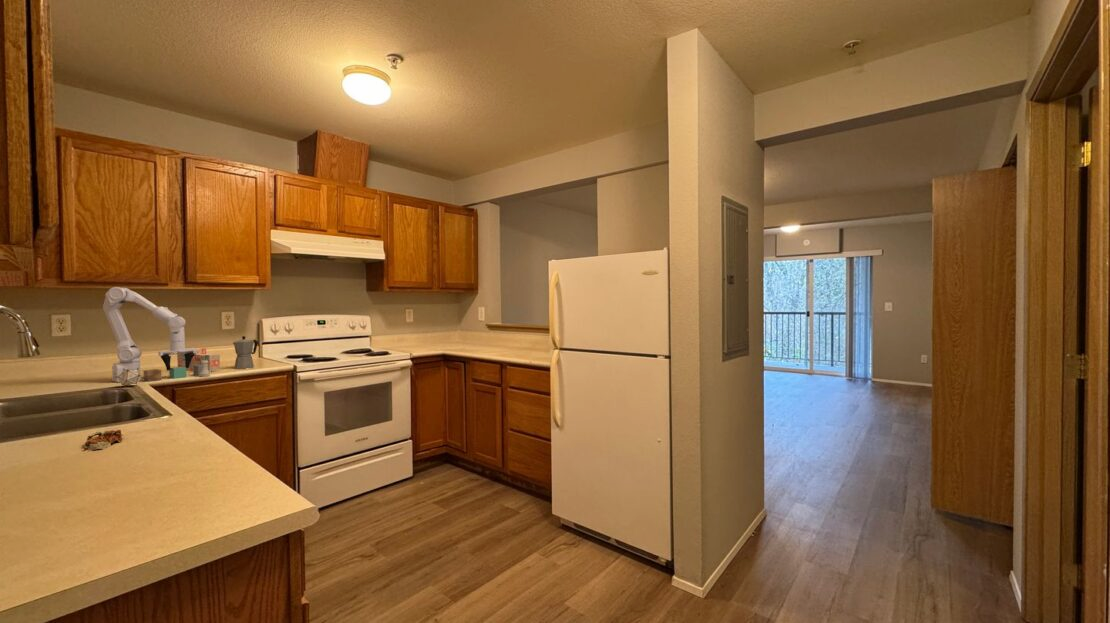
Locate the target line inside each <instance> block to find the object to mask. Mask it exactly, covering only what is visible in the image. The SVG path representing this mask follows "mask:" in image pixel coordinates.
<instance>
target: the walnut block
mask: <svg viewBox="0 0 1110 623" xmlns="http://www.w3.org/2000/svg"><path fill="white" fill-rule="evenodd" d="M142 372H143V373H142V374H143V377H144V379H143V382H148V383H150V382H157V381H162V369H158V368H156V369H155V368H154V369H145V370H142Z"/></svg>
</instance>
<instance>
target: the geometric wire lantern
mask: <svg viewBox="0 0 1110 623" xmlns="http://www.w3.org/2000/svg"><path fill="white" fill-rule="evenodd" d="M138 369H139V368H137V369H131V370H128V369H127V370H125V369H123V370H124V371H123V372H122V373H121V374H120V375H119V376H118V379H119V381H120V382H119V383H120V384H121V386H122V385H130V386H132V385H131V384H136V385H137V384H138V383H139V382H140V381H142V380H141V379H143V378H144V376H143V377H142V375H141V372H140V373H139V371H138ZM116 377H117V376H116ZM143 380H144V379H143Z"/></svg>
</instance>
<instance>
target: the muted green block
mask: <svg viewBox="0 0 1110 623" xmlns="http://www.w3.org/2000/svg"><path fill="white" fill-rule="evenodd" d="M168 372H169V373H168V374H169V379H173V380H175V379H185V378H187V372H186V367H178V366H177V367H175V366H174V367H170V370H168Z"/></svg>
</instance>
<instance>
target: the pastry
mask: <svg viewBox="0 0 1110 623" xmlns="http://www.w3.org/2000/svg"><path fill="white" fill-rule="evenodd" d="M122 437H124V435H123V434H122V431H121V429H117V430H114V429H111V430H110V429H107V430H105V431H96V432H95V433H93V434H91V435H88V436H87V438H86V441H85V442H84V445H83V451H84V452H85V451H86V452H93V451H96V450H99V449H100V450H107V449H110V448H111V444H112V443H115V442H116V441H117V442H118V443H121V444H122V442H123V438H122Z"/></svg>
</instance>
